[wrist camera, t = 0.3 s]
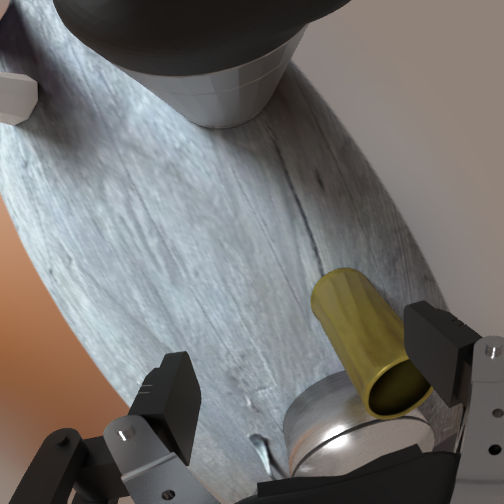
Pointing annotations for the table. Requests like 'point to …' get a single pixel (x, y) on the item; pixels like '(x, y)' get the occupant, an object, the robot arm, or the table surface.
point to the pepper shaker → (16, 97)
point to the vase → (369, 344)
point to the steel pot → (344, 430)
